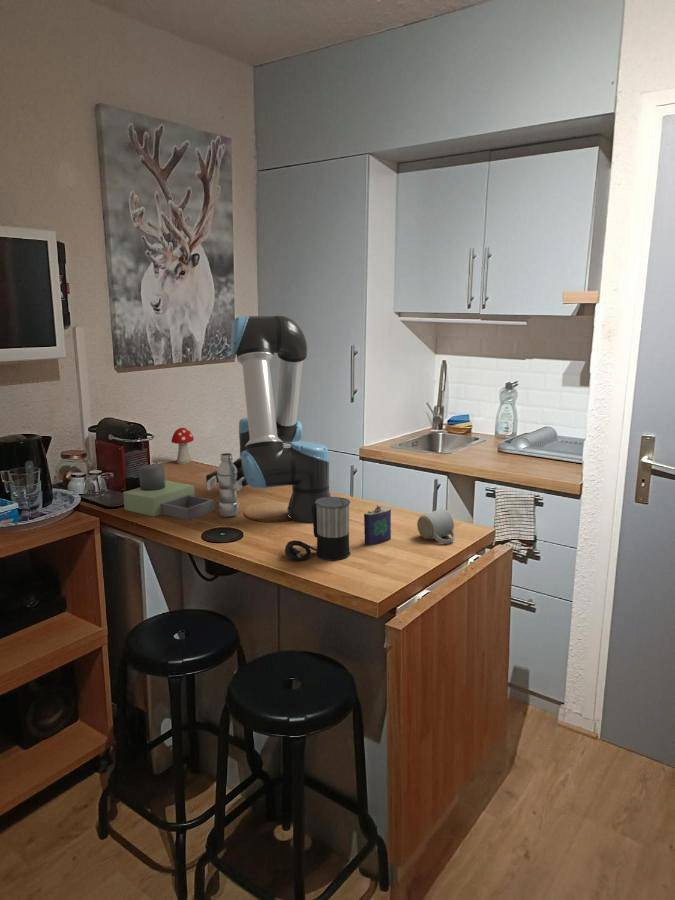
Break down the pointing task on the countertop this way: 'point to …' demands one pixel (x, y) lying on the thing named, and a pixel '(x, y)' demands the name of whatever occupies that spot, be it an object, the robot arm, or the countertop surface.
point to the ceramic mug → (436, 526)
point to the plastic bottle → (227, 486)
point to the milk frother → (326, 531)
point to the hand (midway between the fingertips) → (223, 486)
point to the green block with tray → (165, 496)
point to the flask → (377, 526)
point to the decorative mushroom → (182, 444)
